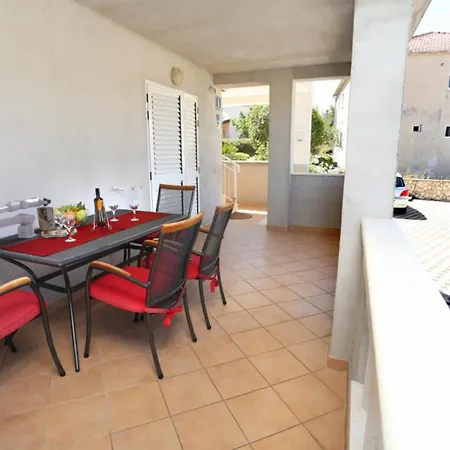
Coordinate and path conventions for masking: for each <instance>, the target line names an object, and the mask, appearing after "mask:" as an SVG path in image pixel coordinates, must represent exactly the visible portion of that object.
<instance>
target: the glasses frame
mask: <svg viewBox="0 0 450 450" xmlns="http://www.w3.org/2000/svg"><path fill="white" fill-rule="evenodd" d="M61 230H62V227H61V226H56V231H57V234H54V233H53V234H49V235H45V236H43V237H44V239H48V238H59V237H58V236H61V237H68V236H67V235H68V234H69V233H68V232H65V233H63V234H61ZM65 235H66V236H65ZM70 236H75V233H71V235H70Z"/></svg>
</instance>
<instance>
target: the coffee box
mask: <svg viewBox="0 0 450 450" xmlns="http://www.w3.org/2000/svg"><path fill="white" fill-rule="evenodd" d="M36 213H37V220H38V226H39V227H38V228H39V230H40V231H41V230H42V231H43V228H48V229H49V231H53V230H55V229H56V224H55V214H54V207H51V206H39V207H36Z"/></svg>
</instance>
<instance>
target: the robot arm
mask: <svg viewBox="0 0 450 450" xmlns="http://www.w3.org/2000/svg"><path fill="white" fill-rule="evenodd" d="M49 204H52V200H51V199H48V198H46V197H43V198H42V199H40V198H39V197H38V196H34V198H29V199H21V200H19V199H17V200H14V201H8V202H7V203H5V204H4V206H0V214H3V213H6V212H7V213H12V212H17V211H19V210H27V209H31V208H40V207H48V205H49ZM35 221H36V215H35V214H33V213H21V212H20V213H18V214H16V215H14V216H12V217H11V216H10V217H6V218H0V229H1V228H6V227H9V226H14V225H18V224H20V225H19V226H17V234H18V235H17V238H18V239H30V238H33V237H36V236H37V235H38V234H37V233H35V230H34V229H35V228H34V223H35Z"/></svg>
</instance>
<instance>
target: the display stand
mask: <svg viewBox="0 0 450 450" xmlns="http://www.w3.org/2000/svg"><path fill="white" fill-rule="evenodd" d="M67 230H68V229H61V234H63V233H65V232H68V231H67ZM53 233H54V234H57V230H49V229H48V228H43V230H42V231H41V235H40V236H41V237H44V236H45V235H49V234H53ZM71 233H74V234H77V233H78V231H77V228H75V226H74V225H73V227H72V228H71Z"/></svg>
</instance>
